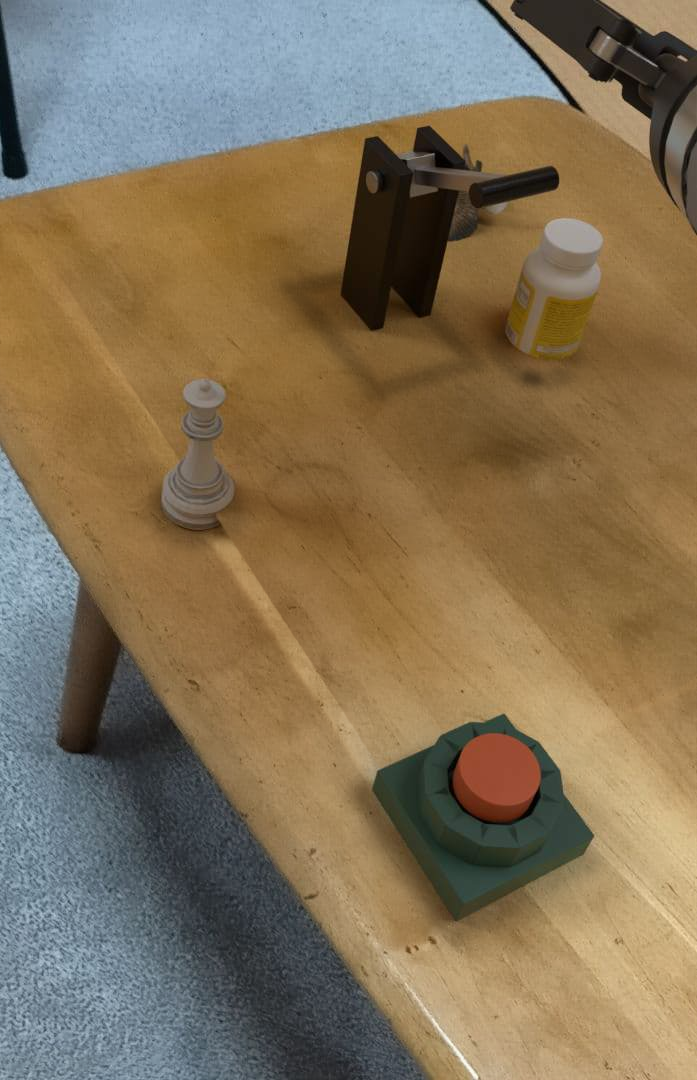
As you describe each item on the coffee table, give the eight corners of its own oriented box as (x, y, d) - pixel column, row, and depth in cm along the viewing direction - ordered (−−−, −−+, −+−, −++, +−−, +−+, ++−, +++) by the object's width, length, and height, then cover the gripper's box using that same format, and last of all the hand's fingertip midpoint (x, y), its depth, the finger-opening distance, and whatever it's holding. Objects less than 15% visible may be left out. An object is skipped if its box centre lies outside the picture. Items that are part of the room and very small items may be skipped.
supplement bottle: (588, 350, 90) (629, 238, 83) (548, 384, 87) (586, 271, 80) (527, 315, 92) (562, 201, 85) (486, 346, 89) (518, 232, 81)
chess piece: (156, 480, 76) (159, 356, 69) (227, 475, 77) (238, 352, 70) (166, 534, 73) (170, 410, 66) (239, 528, 74) (251, 406, 67)
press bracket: (473, 357, 88) (519, 189, 78) (378, 385, 84) (412, 214, 74) (386, 259, 94) (417, 92, 84) (294, 282, 91) (315, 111, 80)
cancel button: (502, 739, 63) (510, 720, 61) (548, 803, 61) (557, 785, 59) (436, 770, 61) (443, 751, 60) (482, 836, 59) (489, 818, 58)
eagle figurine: (433, 169, 101) (357, 183, 95) (493, 123, 96) (416, 135, 90) (472, 254, 101) (398, 274, 95) (534, 213, 96) (459, 231, 90)
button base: (496, 732, 67) (513, 691, 64) (584, 854, 63) (607, 816, 60) (370, 790, 64) (382, 749, 61) (455, 922, 60) (472, 885, 57)
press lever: (560, 200, 72) (558, 157, 71) (484, 218, 70) (481, 175, 69) (435, 183, 83) (432, 146, 82) (365, 199, 81) (361, 161, 80)
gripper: (442, 74, 50) (441, 13, 68) (934, 368, 54) (807, 236, 73) (546, -112, 46) (514, -123, 65) (1061, 219, 51) (894, 120, 69)
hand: (669, 67), depth 69 cm, fingers open, 13 cm apart
